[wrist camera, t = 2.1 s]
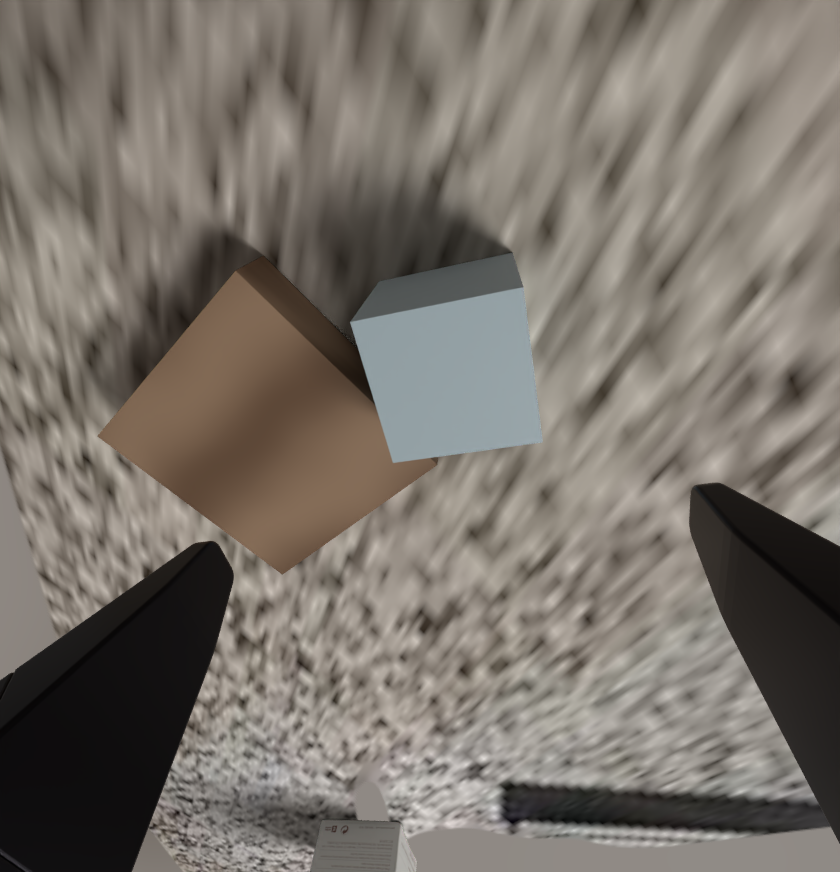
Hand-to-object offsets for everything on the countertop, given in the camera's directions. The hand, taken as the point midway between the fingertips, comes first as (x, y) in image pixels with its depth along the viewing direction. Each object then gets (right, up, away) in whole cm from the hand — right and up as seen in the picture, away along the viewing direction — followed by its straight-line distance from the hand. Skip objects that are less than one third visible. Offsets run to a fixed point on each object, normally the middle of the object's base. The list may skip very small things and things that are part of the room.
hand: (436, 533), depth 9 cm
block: (+1, +6, +10) cm, 12 cm away
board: (-6, +2, +13) cm, 15 cm away
